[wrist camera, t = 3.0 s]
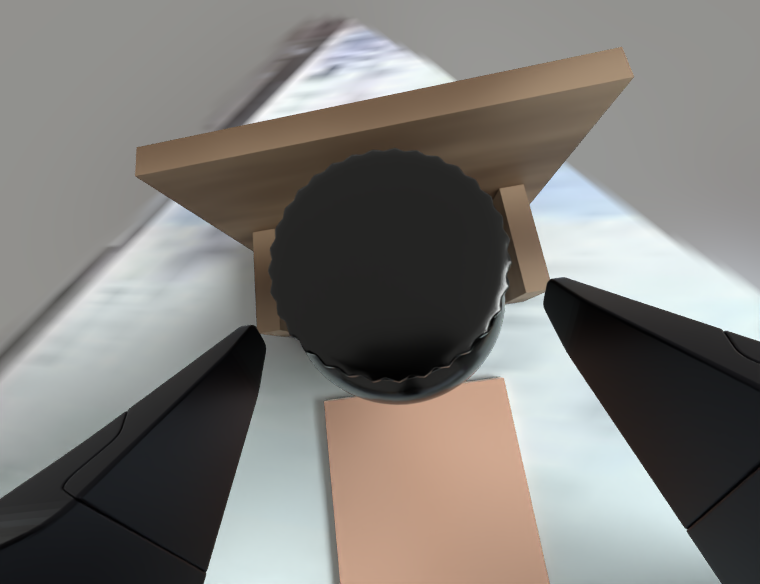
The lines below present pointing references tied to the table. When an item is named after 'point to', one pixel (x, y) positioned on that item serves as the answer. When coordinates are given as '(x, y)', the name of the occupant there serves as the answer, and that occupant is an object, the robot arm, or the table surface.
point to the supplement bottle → (392, 275)
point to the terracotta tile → (432, 491)
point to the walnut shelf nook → (405, 132)
